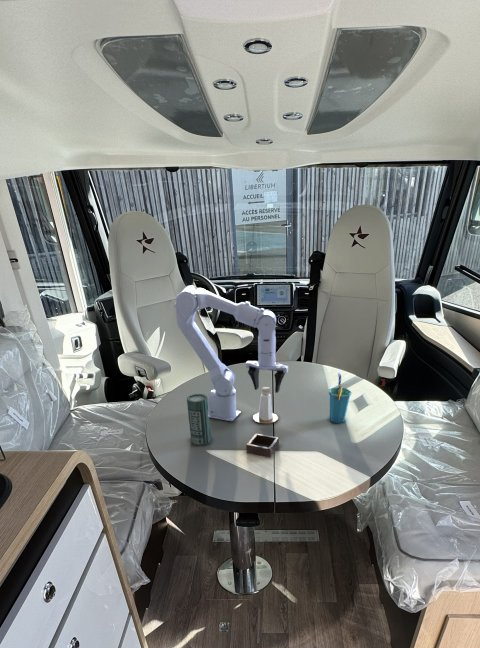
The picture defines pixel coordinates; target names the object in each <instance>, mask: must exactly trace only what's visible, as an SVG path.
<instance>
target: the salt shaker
mask: <svg viewBox="0 0 480 648" xmlns="http://www.w3.org/2000/svg"><path fill="white" fill-rule="evenodd" d="M270 390H271V388H270V387H268V386H263V387H262V388H261V394H260V397H259V398H260V399H259V408H258V410H259V411H258V413H259V419H261V420H270V419H272V418H273V415H272V413H273V405H272V404H273V403H272V394H270Z"/></svg>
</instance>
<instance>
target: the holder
mask: <svg viewBox="0 0 480 648" xmlns="http://www.w3.org/2000/svg"><path fill="white" fill-rule="evenodd" d="M257 444H261V445H257ZM262 445H266V446H262ZM245 446H246V449H245V450H246V454H250V455H255V456H260V457H265V458H271V457H272V456H273V455H274V454H275V452H276V451H277V449H278V448H279V446H280V437H278V436H274V435H273V436H272V435H266V434H261V433H255V434H254V435H253V436H252V437H251V439H249V441H248V442H247V443H246V445H245ZM267 446H269V447H267Z"/></svg>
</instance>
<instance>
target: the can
mask: <svg viewBox="0 0 480 648" xmlns="http://www.w3.org/2000/svg"><path fill="white" fill-rule="evenodd" d="M208 397H209V396H208V395H206V394H204V393H193V394H189V395H188V396H187V397H186V404H187V415H188V422H189V433H190V439H191V440H190V442H191V443H192V444H193V445H195V446H205V445H207V444H210V443H211V441H212V439H211V438H212V437H211V424H210V417H209V405H208Z"/></svg>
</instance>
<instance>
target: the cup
mask: <svg viewBox="0 0 480 648" xmlns="http://www.w3.org/2000/svg"><path fill="white" fill-rule="evenodd" d="M337 376H338V383H337V384H338V386H337V387H332V388H331V389H329V391H328V395H329V421H330V422H331V423H334V424H342V423H344V422H345V420H346V416H347V411H348V406H349V402H350V398H351V395H352V391H351V390H350V389H348V388H345V387H343V385H342V375H341V373H340V372H338V373H337Z"/></svg>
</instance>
